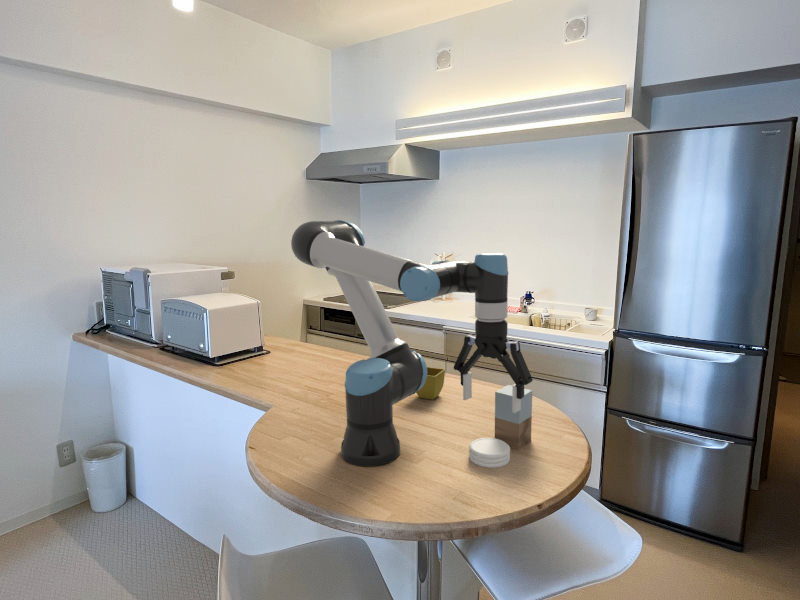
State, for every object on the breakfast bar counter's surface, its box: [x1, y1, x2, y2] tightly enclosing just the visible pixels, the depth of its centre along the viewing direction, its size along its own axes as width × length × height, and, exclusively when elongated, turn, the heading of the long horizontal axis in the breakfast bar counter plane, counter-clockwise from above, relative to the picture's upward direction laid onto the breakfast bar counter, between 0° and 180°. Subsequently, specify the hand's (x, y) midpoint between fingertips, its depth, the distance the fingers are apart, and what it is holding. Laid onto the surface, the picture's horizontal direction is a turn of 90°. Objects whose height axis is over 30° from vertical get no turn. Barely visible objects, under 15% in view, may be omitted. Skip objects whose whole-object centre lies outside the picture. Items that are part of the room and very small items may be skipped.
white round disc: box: [468, 437, 511, 469], centre depth 120 cm, size 10×10×4 cm
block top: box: [494, 384, 533, 424], centre depth 127 cm, size 7×7×7 cm
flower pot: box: [415, 366, 446, 400], centre depth 162 cm, size 9×9×9 cm
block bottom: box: [494, 415, 533, 451], centre depth 128 cm, size 7×7×7 cm
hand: (491, 404), depth 118 cm, fingers open, 13 cm apart
